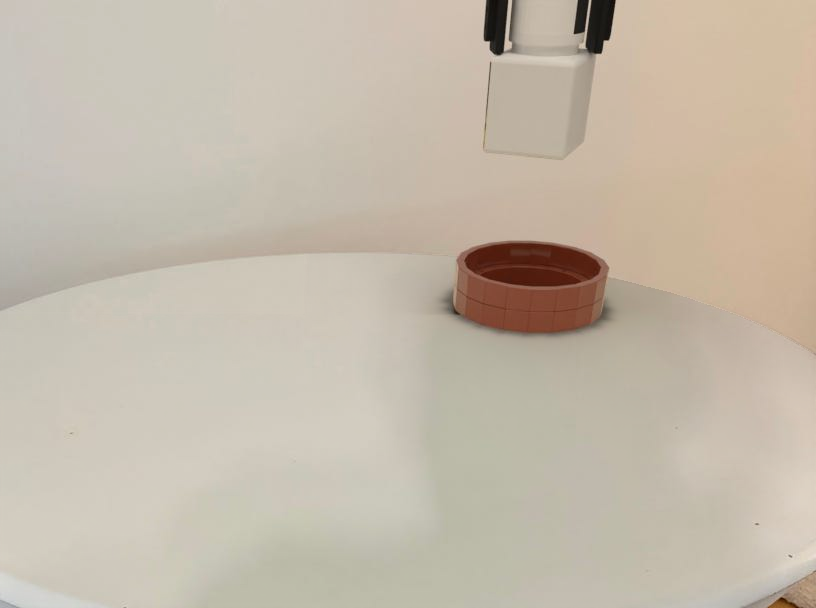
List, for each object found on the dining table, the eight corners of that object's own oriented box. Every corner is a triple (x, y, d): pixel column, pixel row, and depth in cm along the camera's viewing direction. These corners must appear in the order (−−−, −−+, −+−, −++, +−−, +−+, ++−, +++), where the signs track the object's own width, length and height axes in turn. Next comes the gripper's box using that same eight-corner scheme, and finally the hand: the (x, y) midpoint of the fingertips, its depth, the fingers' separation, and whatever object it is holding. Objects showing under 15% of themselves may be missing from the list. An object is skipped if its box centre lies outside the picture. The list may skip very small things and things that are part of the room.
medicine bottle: (506, 136, 89) (521, -24, 81) (584, 143, 86) (607, -21, 79) (481, 153, 84) (495, -16, 76) (563, 161, 81) (586, -12, 74)
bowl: (583, 289, 105) (590, 240, 102) (614, 342, 93) (624, 289, 90) (446, 289, 105) (449, 240, 102) (461, 342, 93) (465, 289, 90)
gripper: (683, -233, 73) (637, 44, 84) (448, -233, 72) (433, 46, 83) (716, -242, 67) (663, 58, 78) (461, -241, 67) (443, 60, 78)
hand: (544, 50), depth 81 cm, fingers closed on medicine bottle, 7 cm apart
